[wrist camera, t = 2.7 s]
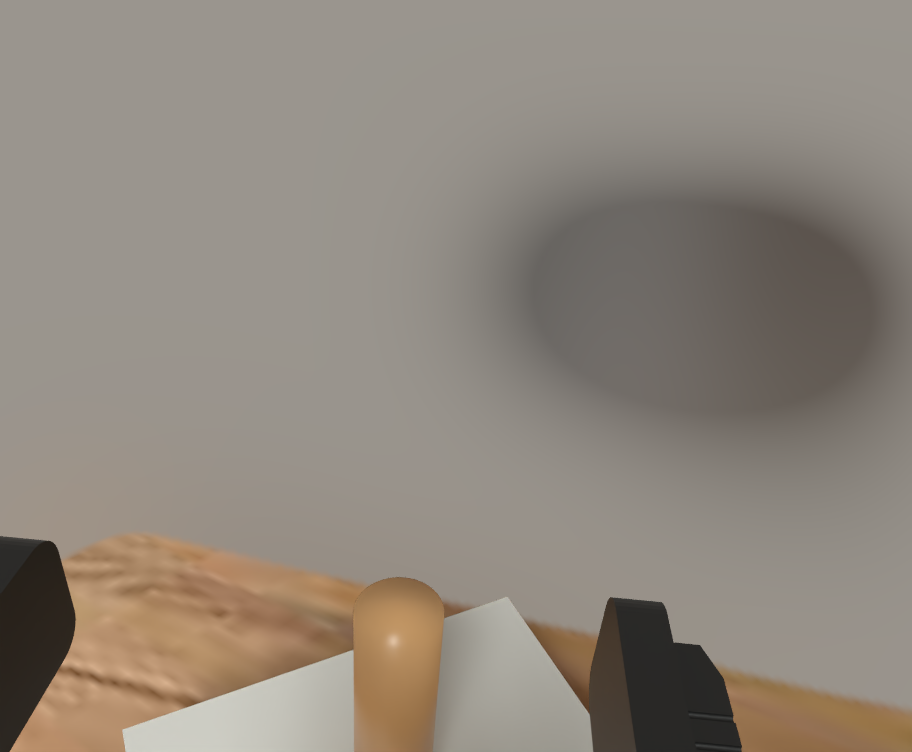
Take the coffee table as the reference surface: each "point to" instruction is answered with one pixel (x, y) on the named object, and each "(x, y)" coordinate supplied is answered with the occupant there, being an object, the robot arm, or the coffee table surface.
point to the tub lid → (396, 690)
